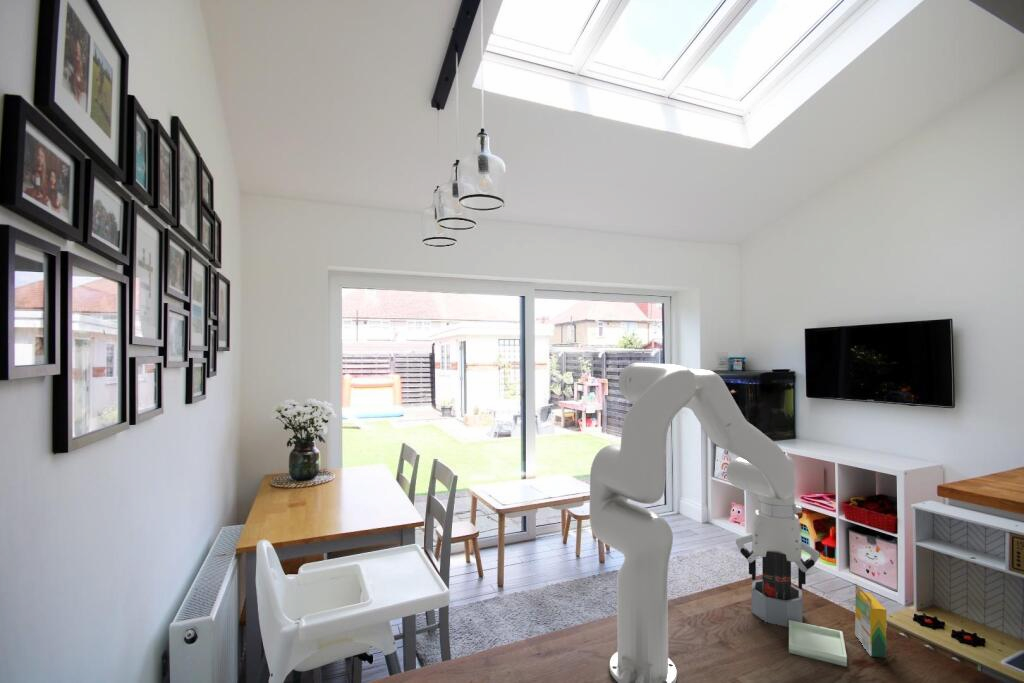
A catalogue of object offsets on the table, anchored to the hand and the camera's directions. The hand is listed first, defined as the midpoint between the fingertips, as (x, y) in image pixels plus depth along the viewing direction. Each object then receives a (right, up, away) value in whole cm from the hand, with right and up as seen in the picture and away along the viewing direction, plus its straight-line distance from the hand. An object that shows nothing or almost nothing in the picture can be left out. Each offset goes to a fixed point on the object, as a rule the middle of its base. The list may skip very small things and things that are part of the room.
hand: (776, 582), depth 122 cm
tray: (+2, -8, -13) cm, 15 cm away
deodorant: (0, -8, 0) cm, 8 cm away
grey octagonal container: (0, -7, 0) cm, 7 cm away
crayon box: (+13, -8, -13) cm, 20 cm away
